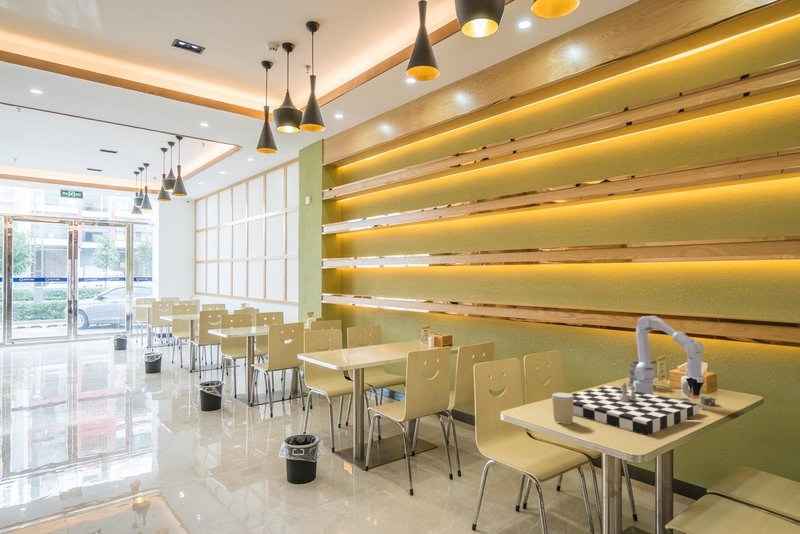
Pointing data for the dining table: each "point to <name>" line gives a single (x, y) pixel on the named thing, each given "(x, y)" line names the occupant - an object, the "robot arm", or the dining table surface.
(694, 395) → the pawn
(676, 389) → the dining table surface
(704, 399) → the die
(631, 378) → the tankard
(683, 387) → the donut
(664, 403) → the checkerboard
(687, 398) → the track board
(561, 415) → the coffee cup
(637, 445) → the dining table surface
